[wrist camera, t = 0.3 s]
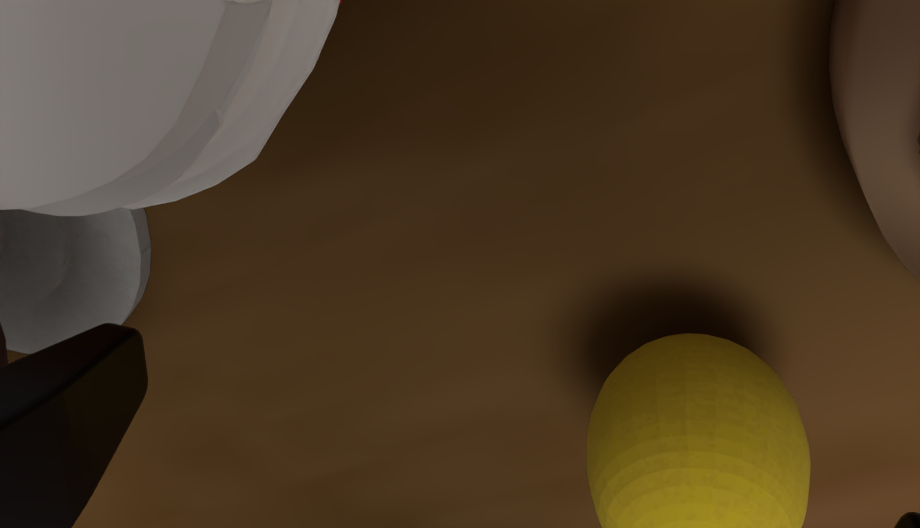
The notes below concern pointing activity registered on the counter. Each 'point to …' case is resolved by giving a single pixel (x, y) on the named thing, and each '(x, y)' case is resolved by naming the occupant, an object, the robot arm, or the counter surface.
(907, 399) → the counter surface
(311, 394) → the counter surface
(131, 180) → the paper cup
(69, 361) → the robot arm
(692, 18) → the counter surface
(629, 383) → the lemon
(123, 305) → the mate gourd
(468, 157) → the counter surface
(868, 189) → the stand
